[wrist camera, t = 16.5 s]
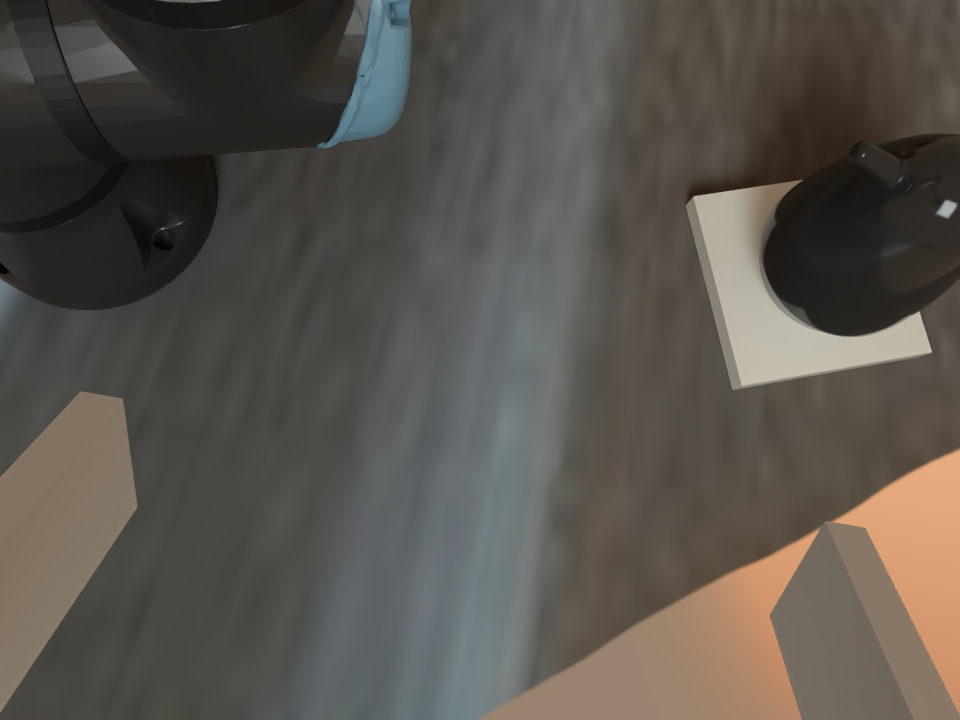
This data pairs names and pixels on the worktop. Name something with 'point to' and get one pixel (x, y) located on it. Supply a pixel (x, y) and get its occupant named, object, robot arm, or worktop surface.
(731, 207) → the tile pad
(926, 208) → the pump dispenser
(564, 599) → the worktop surface
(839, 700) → the robot arm
